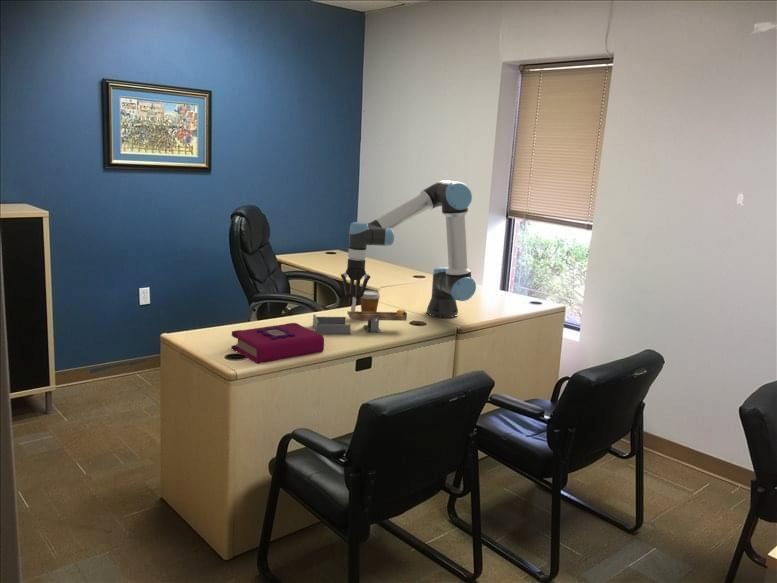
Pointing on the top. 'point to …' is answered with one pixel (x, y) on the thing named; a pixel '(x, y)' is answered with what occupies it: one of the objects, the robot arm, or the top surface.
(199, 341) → the top surface
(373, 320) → the fulcrum
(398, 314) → the ball
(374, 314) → the lever
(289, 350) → the book
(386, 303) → the top surface
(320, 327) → the tray
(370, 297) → the disposable coffee cup
